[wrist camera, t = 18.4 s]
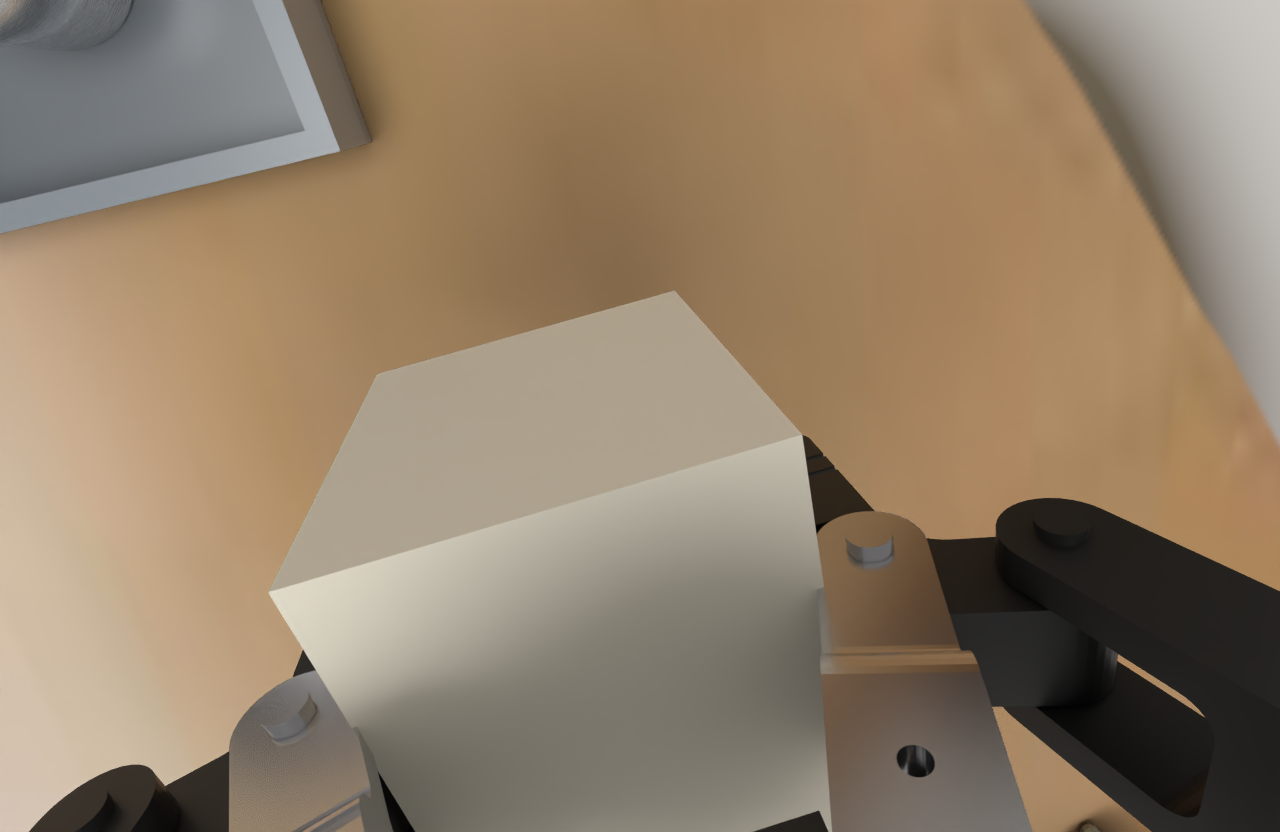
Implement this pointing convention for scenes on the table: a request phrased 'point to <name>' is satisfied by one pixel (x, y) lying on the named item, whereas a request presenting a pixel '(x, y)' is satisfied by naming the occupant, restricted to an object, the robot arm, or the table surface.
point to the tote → (170, 105)
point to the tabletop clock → (1090, 828)
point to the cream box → (573, 585)
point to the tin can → (60, 22)
